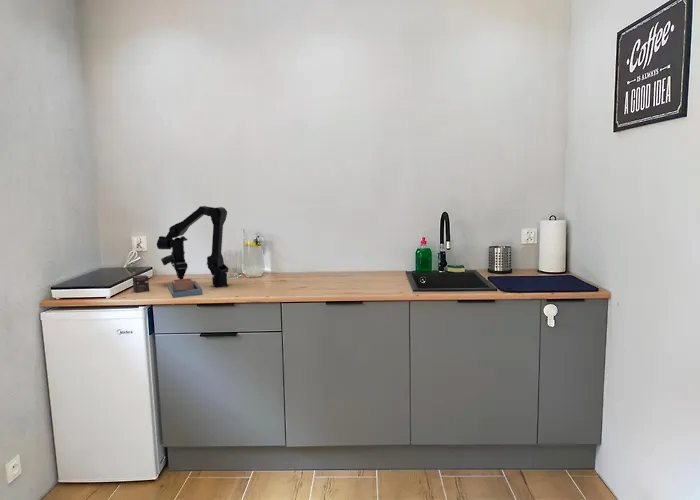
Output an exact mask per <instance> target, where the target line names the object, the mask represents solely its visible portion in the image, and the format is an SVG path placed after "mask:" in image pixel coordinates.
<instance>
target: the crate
mask: <svg viewBox="0 0 700 500" xmlns="http://www.w3.org/2000/svg"><path fill="white" fill-rule="evenodd" d="M171 281H172V285H173V287H174V288H175V290H176V291H183V290H193V289H194V283H193V281H194V280H193V278H190V277H189V278H183V279H179V278H178V279H172V280H171Z"/></svg>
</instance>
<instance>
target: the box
mask: <svg viewBox="0 0 700 500" xmlns="http://www.w3.org/2000/svg"><path fill="white" fill-rule="evenodd" d="M132 288H133V289H132V290H133V291H134V292H135V293H144V292H150V281H149V275H145V274H141V275H133V276H132Z"/></svg>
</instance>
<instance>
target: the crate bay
mask: <svg viewBox="0 0 700 500" xmlns="http://www.w3.org/2000/svg"><path fill="white" fill-rule="evenodd" d="M193 283H194V289H189V290H179V291H176V290H175V288H174V287H173V283H171V282H168V283H167V287H168V291H169V292H170V294H171V296H172V298H181V297H182V298H183V297H190V296H192V297H193V296H200V295H201V296H202V295H203V288H202V286H200V285H199V283H197V281H196V280H193Z"/></svg>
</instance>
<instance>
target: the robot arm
mask: <svg viewBox="0 0 700 500" xmlns="http://www.w3.org/2000/svg"><path fill="white" fill-rule="evenodd" d="M227 215H228V211H227V209H226V208H225V207H223V206H218V207H217V206H216V207H214V206H213V207H212V206H206V205H201V206H199V207H198V208H197V209H195V211H193V212H192V213H191V214H189V215H188V216H187V217H185V218H184V219H183V220H182V221H180V222H178V223H175V224H173V225H171V226H170V227H169V229H168V232H167V234H166V236H164V235H160V236H158V239H157V242H156V247H157V249H158V250H171V251H170V252H171V254H169V255H166V256H164V257H162V258H160V261H161V263H162V265H163V266H166V265H168V264H171V266H172V267H173V269H174V271H175V274H176V276H177V278H178V279H184V277H185V274H186V272H187V269H188V268H189V267H188V262H186V259H185V253H186V252H185V244H184V242H186V241H188V238H186V237H185V236H184V235H185V234H186V232H187V231H188V229H189V228H190V226H192V225H193V224H194V223H196V222H197V221H198V220H199V219H201V218H202V217H203V216H207V217H210V220H211V223H212V240H211V241H212V244H211V254H210V255H208V256H207V257H206V265H207V268H208V270H209V271H210V273H211V275H212V277H211V281H212V282H211V284H212V285H213V287H215V288H218V287H228V286H229V284H228V276H227V274H228V272H229V268H230V267H228V266H227V265H226V264H225V262H224V257H223V254H222V246H223V245H222V244H223V233H224V232H223V231H224V230H223V229H224V224H225V222H226V220H227Z"/></svg>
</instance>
